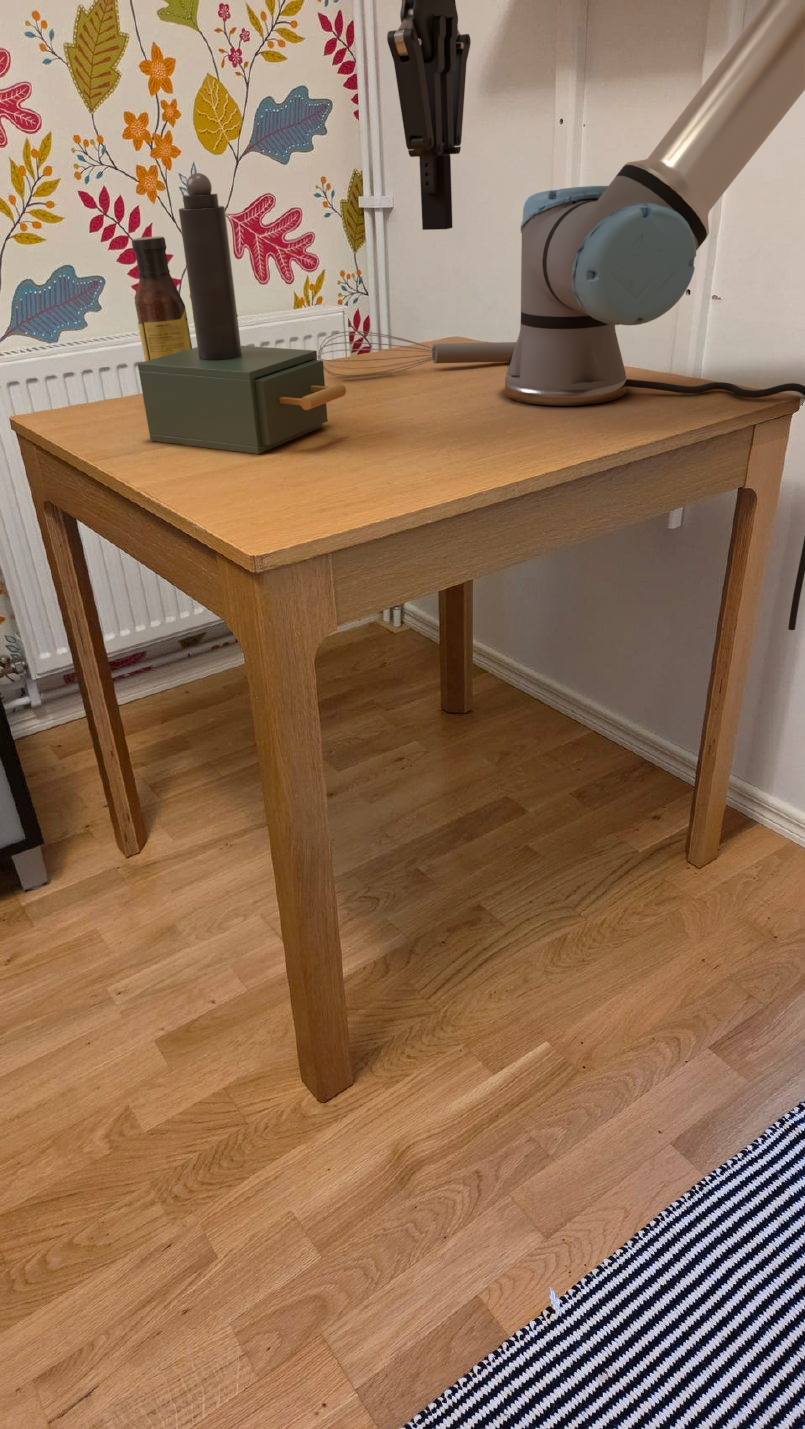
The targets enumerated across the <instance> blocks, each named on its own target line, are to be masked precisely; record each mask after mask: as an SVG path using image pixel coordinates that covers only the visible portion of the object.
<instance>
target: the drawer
mask: <svg viewBox="0 0 805 1429" xmlns="http://www.w3.org/2000/svg"><path fill="white" fill-rule="evenodd" d="M323 362H324V361H322V360H320V359H317V360H313V361H310V362H307V363H304V364H302V363H300V364H297V365H294V366H291V367H288V368H285V369H282V370H279V371H276V372H273V373H270V374H267V375H264V376H261V377H258V378H255V380H254V383H255V392H256V401H257V410H258V419H259V428H260V437H261V444H262V445H272V444H275V443H277V442H279V441H282V440H284V439H286V438H289V437H291V436H293V435H296V434H298V433H301V432H303V431H305V430H308V429H310V428H312V427H315V426H317V425H319V424H322V425H323V424H324V423H326V422H328V420H329V419H328V410H327V409H328V407H327V403H329V402H332V401H334V400H337V399H339V398H342V397H344V396H345V395H346V393H347V388H346V386H345V385H344V384H343V383H337V384H334V385H332V386H326V383H325V382H326V381H325V369H324V368H323V366H324V363H323Z"/></svg>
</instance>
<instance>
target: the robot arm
mask: <svg viewBox="0 0 805 1429" xmlns="http://www.w3.org/2000/svg"><path fill="white" fill-rule="evenodd" d="M399 18H400V25H399V27H398V28H397V29H393V30H388V31H387V35H386V41H387V45H388V48H389V51H390V55H391V57H392V61H393V66H394V72H395V79H396V86H397V91H398V99H399V106H400V112H401V119H402V126H403V132H404V138H405V140H404V141H405V146H406V148H407V150H408V155H409V157H411V158H419V159H418V160H419V180H420V199H421V203H420V204H421V226H422V231H428V230H429V231H430V230H433V231H435V230H450V229H453V200H452V197H453V195H452V162H451V160H452V159H451V155H459V154H460V153H461V147H462V146H461V144H462V138H463V136H462V135H463V121H464V108H465V94H466V93H465V91H466V79H467V78H466V77H467V64H468V63H467V62H468V58H469V53H470V48H471V43H472V42H471V36H470V34H469V33H464V34H461V33H460V30H459V15H458V10H457V3H456V0H401V6H400V13H399ZM804 92H805V0H766V1H765V3H764V4H763V5H762V7H761V8H760V9H759V10H758V12H757V14H756V15H755V16H754V17H753V18H752V19H751V21H750V23H749V24H748V25H747V26H746V28H745V29H744V30H743V32H742V33H741V34H740V35H739V37H737V39H736V41H735V42H734V44H733V45H732V46H731V48H730V49H729V50H728V51H727V53H726V54H725V56H724V57H723V58H722V59H721V61H720V62H719V64H718V65H717V66H716V68H715V69H714V70H713V72H711V74H710V75H709V77H708V78H707V79H706V80H705V82H704V83H703V84H702V86H701V87H700V88H699V90H698V91H697V92H696V94H695V95H694V96H693V98H692V99H691V101H690V102H689V103H688V104H687V106H686V107H685V108H684V110H683V111H682V113H680V115H679V116H678V117H677V119H676V121H675V122H674V123H673V124H672V126H671V127H670V128H669V129H668V131H667V132H666V133H665V135H664V136H663V137H662V139H660V142H659V143H658V144H657V145H656V147H655V148H654V149H653V151H652V152H651V153H650V154H649V155H648V157H647V158H646V159H641V160H634V161H629V162H626V163H625V164H624V165H623V166H622V167H621V169H620V170H619V171H618V173H617V174H616V176H615V177H613V179H612V181H611V182H610V183H609V185H588V186H587V185H586V186H575V187H574V186H573V187H566V188H559V189H551V190H545V191H540V192H536V193H534V194H532V195H530V196H529V197H528V198H527V199H526V200H525V202H524V204H523V209H522V221H521V223H520V234H521V257H520V258H521V260H520V261H521V264H520V266H521V267H520V268H521V269H520V328H519V334H518V336H517V340H516V342H517V343H516V346H515V349H514V352H513V355H512V356H511V357H510V359H509V362H507V366H506V368H507V372H506V375H505V378H504V394H505V395H506V397H507V398H510V399H511V400H514V401H517V402H522V403H526V404H531V405H533V404H534V405H543V406H584V405H594V404H600V403H605V402H610V401H613V400H616V399H619V398H621V397H622V396H624V395H625V394H626V390H627V387H629V388H638V389H648V390H657V391H664V392H671V393H676V394H677V393H678V394H690V395H691V394H701V393H706V392H710V391H715V390H720V391H721V390H723V391H727V392H729V393H731V394H733V395H735V396H737V397H741V398H747V399H758V398H764V397H769V396H773V395H777V394H780V393H785V392H795V393H796V392H797V393H800V394H801V395H803V396H804V397H805V385H804V384H801V383H797V382H789V383H783V384H779V385H775V386H771V387H767V388H763V389H756V390H755V389H754V390H753V389H752V390H751V389H746V388H745V389H744V388H741V387H739V386H737V385H736V384H733V383H732V382H731V383H730V382H722V381H719V382H718V381H712V382H708V383H704V384H699V385H680V384H674V383H673V384H672V383H668V382H666V383H665V382H661V381H659V382H658V381H650V380H639V379H630V378H627V373H626V369H625V365H624V360H623V357H622V356H623V355H622V352H621V348H620V344H619V341H618V336H617V332H616V326H620V325H621V326H639V325H643V324H647V323H649V322H652V321H655V320H656V319H659V318H660V317H662V316H663V315H665V314H666V313H667V312H669V311H670V310H671V309H672V308H673V307H675V305H676V304H677V303H678V302H679V301H680V300H681V298H682V297H683V296H684V294H685V293H686V291H687V289H688V287H689V286H690V283H691V281H692V279H693V276H694V273H695V269H696V268H695V266H694V264H695V258H696V257H697V251H698V250H699V248H700V247H701V246H702V244H703V243H705V240H707V238H708V236H709V234H710V226H709V224H710V223H709V214H710V211H711V209H713V207H714V206H715V205H716V203H718V201H719V200H720V199H721V197H722V196H723V194H724V193H725V192H727V189H728V188H729V187H730V186H731V184H732V183H733V182H734V181H735V180H736V178H737V177H738V175H739V174H740V173H741V172H742V170H743V169H744V168H745V167H746V165H747V164H748V163H749V162H750V161H751V159H752V158H753V157H754V155H755V154H756V152H758V150H759V149H760V148H761V146H762V145H763V144H764V143H765V141H766V140H767V139H768V138H769V136H770V135H771V134H772V132H773V131H774V130H775V128H776V127H777V126H779V123H780V122H781V121H782V120H783V119H784V117H785V116H786V115H787V114H788V112H789V111H790V109H791V108H792V107H793V106H794V105H795V103H796V102H797V101H798V99H799V98H800V97H801V95H802V94H803V93H804ZM795 578H796V579H795V584H794V590H793V594H792V600H791V606H790V612H789V619H788V621H789V622H788V626H787V630H789V631H795V630H796V625H797V618H798V612H799V606H800V601H801V600H800V599H801V595H802V589H803V583H804V579H805V536H804V538H803V543H802V547H801V554H800V559H799V564H798V569H797V574H796V577H795Z"/></svg>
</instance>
